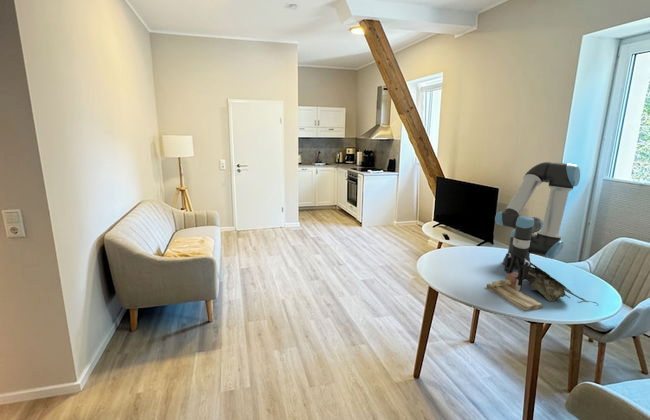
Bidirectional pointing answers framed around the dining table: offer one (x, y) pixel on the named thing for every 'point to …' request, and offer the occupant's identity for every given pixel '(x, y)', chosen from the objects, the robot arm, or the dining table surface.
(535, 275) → the hollow geode rock
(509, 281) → the brown block with handle
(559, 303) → the dining table surface
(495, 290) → the board
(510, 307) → the dining table surface
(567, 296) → the dry twig
